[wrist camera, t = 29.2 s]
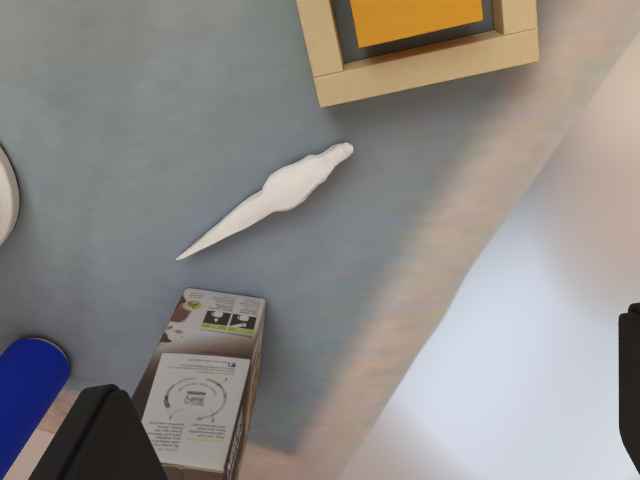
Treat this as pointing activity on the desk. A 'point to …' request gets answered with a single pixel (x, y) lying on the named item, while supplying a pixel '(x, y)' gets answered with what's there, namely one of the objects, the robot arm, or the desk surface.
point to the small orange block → (409, 18)
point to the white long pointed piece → (276, 194)
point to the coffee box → (203, 385)
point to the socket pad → (415, 54)
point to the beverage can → (27, 392)
